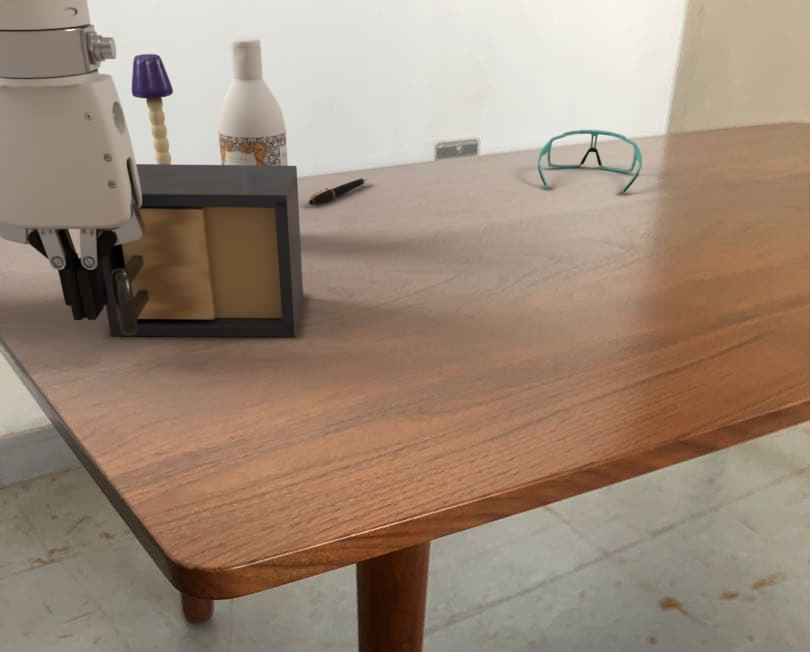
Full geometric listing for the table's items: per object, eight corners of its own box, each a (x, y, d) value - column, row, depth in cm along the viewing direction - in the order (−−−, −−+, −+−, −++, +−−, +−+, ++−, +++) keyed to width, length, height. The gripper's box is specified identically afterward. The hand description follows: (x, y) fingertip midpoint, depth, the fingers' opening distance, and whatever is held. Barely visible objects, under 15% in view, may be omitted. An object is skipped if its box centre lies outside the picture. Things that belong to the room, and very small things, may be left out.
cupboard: (110, 336, 80) (84, 193, 73) (136, 295, 88) (115, 163, 81) (294, 337, 80) (286, 195, 73) (303, 296, 88) (296, 165, 82)
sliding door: (115, 349, 74) (94, 232, 69) (135, 315, 80) (117, 205, 75) (202, 349, 74) (188, 232, 69) (215, 316, 80) (203, 206, 75)
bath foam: (217, 247, 100) (195, 40, 89) (248, 229, 106) (231, 33, 94) (273, 255, 99) (259, 45, 87) (302, 237, 104) (292, 36, 92)
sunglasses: (640, 168, 132) (645, 132, 129) (636, 206, 121) (641, 168, 118) (542, 162, 135) (546, 126, 132) (530, 198, 124) (533, 160, 121)
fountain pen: (364, 183, 124) (364, 171, 123) (371, 184, 124) (371, 172, 123) (304, 208, 114) (304, 195, 113) (313, 209, 113) (312, 196, 113)
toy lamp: (173, 213, 111) (153, 59, 101) (140, 209, 112) (118, 56, 103) (194, 203, 115) (177, 53, 105) (162, 199, 116) (142, 51, 106)
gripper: (159, 49, 66) (191, 297, 76) (-50, 48, 66) (11, 297, 76) (136, 64, 60) (174, 332, 70) (-95, 63, 60) (-22, 331, 70)
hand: (89, 313), depth 73 cm, fingers closed
